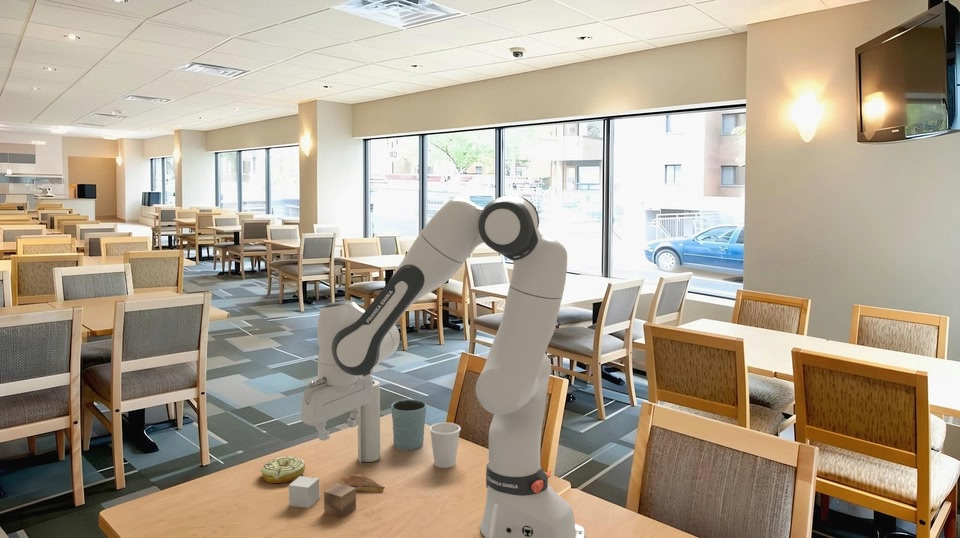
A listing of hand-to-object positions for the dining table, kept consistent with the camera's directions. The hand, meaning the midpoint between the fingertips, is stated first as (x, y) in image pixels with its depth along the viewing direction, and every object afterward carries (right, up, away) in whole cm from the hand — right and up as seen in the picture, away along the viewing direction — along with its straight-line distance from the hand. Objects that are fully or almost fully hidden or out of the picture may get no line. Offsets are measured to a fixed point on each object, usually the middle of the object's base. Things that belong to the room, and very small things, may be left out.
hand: (338, 432), depth 144 cm
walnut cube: (0, -18, +2) cm, 18 cm away
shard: (+3, -18, +15) cm, 23 cm away
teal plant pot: (+11, -14, +41) cm, 45 cm away
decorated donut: (-19, -17, +20) cm, 32 cm away
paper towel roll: (+1, -15, +31) cm, 34 cm away
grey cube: (-9, -18, +6) cm, 21 cm away
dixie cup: (+22, -16, +28) cm, 39 cm away
